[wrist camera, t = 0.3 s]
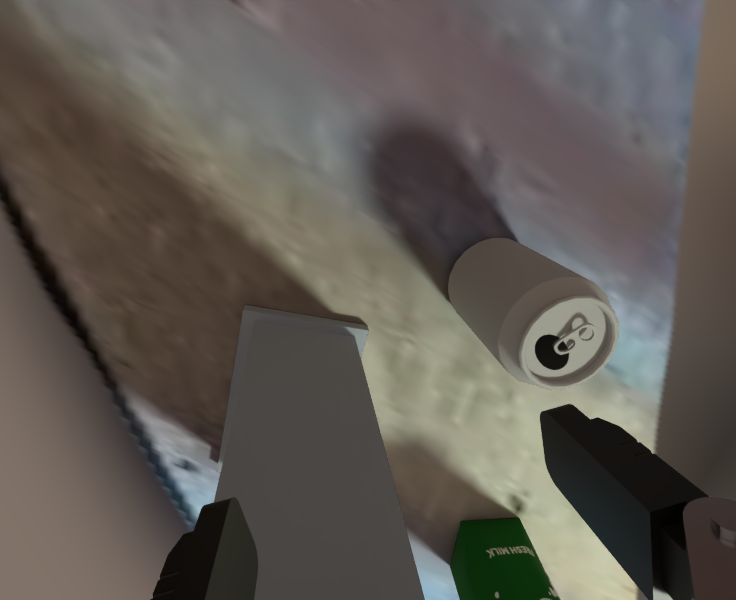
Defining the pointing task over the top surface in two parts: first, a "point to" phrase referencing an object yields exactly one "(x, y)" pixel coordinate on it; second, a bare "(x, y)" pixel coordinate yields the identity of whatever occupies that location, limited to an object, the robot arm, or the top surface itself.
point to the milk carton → (498, 563)
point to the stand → (312, 464)
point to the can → (533, 313)
